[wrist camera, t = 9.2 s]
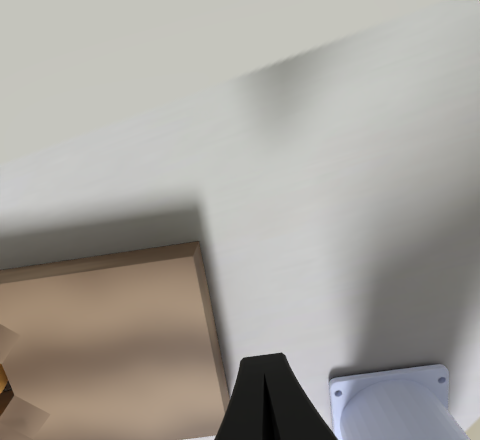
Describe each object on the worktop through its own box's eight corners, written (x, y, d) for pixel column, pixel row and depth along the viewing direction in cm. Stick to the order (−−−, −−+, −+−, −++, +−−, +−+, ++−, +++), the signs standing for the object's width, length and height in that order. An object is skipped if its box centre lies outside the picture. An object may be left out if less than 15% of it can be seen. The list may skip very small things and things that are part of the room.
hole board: (229, 400, 21) (228, 433, 19) (-42, 435, 22) (-77, 472, 19) (198, 241, 18) (192, 256, 16) (-115, 286, 19) (-168, 308, 16)
